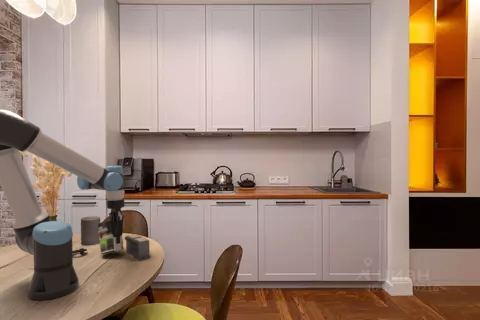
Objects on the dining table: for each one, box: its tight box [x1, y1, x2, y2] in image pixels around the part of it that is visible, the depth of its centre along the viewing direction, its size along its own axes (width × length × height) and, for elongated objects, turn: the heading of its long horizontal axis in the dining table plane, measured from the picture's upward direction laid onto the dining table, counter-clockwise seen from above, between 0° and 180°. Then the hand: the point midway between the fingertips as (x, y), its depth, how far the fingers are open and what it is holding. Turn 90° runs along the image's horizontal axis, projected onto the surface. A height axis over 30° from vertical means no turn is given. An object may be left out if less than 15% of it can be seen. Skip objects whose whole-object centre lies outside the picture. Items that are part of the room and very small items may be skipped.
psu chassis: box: [124, 233, 151, 261], centre depth 142 cm, size 6×15×8 cm, turn 42°
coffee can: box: [97, 220, 125, 255], centre depth 144 cm, size 10×10×14 cm
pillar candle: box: [80, 215, 101, 246], centre depth 164 cm, size 10×10×15 cm
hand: (117, 250), depth 139 cm, fingers closed
